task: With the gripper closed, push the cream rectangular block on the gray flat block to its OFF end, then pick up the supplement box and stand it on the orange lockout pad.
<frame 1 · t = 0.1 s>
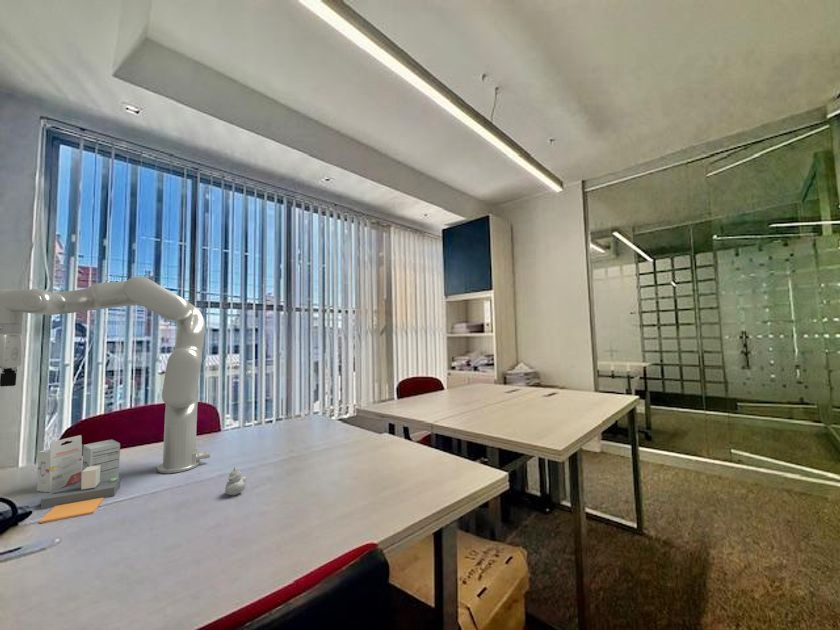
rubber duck: (236, 493, 102), on the table
supplement box: (99, 485, 108), on the table
lockout pad: (73, 510, 92), on the table
ink cartridge box: (59, 486, 107), on the table
cream rectangular block: (91, 477, 100), point 5 cm above the table, slide at 0.0 cm
gray flat block: (83, 497, 99), on the table
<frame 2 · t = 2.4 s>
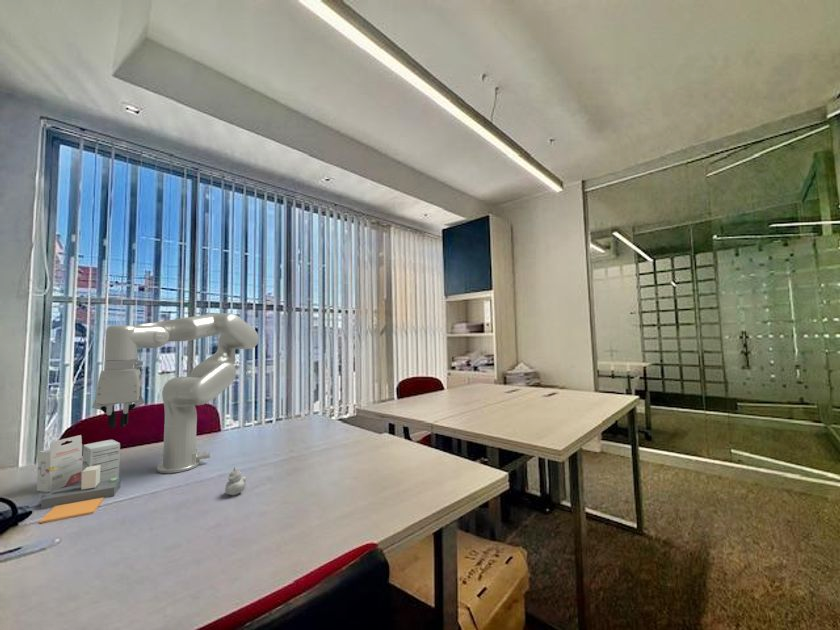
hand: (117, 426, 104), 19 cm above the table, tool pointing down, fingers closed
nothing on the table moved.
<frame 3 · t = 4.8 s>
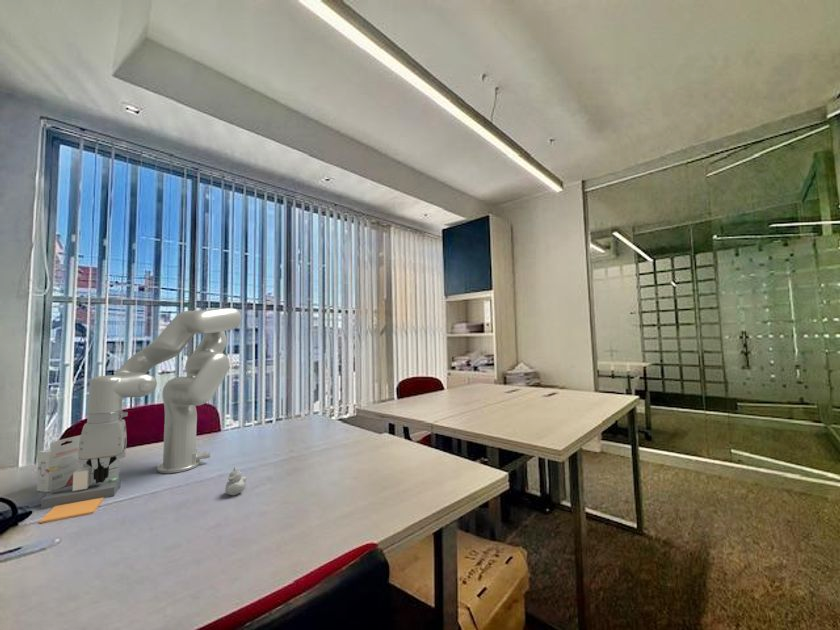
hand: (100, 481, 101), 4 cm above the table, tool pointing down, fingers closed
cream rectangular block: (82, 478, 99), point 5 cm above the table, slide at 1.8 cm, touching gripper
everything else where it was.
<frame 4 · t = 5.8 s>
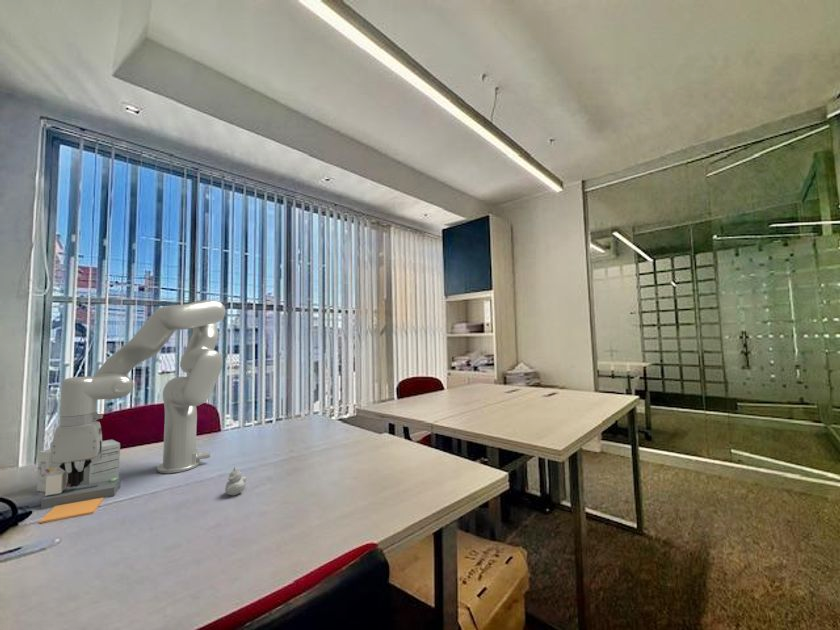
hand: (75, 484, 98), 4 cm above the table, tool pointing down, fingers closed
cream rectangular block: (56, 482, 97), point 5 cm above the table, slide at 7.3 cm, touching gripper
everything else where it was.
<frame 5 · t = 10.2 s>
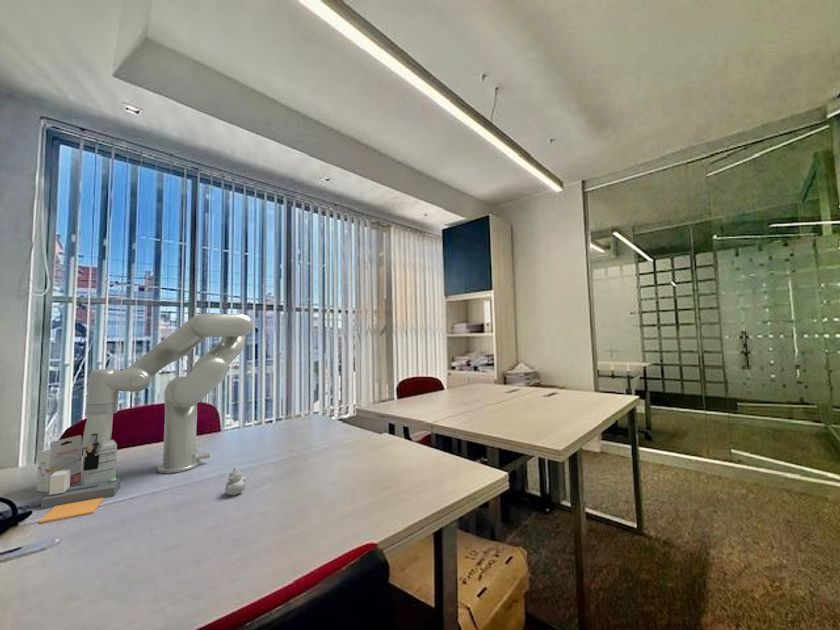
hand: (96, 464, 107), 6 cm above the table, tool pointing down, fingers open, 9 cm apart
supplement box: (98, 485, 107), on the table, touching gripper
cream rectangular block: (60, 481, 97), point 5 cm above the table, slide at 6.5 cm
everything else where it was.
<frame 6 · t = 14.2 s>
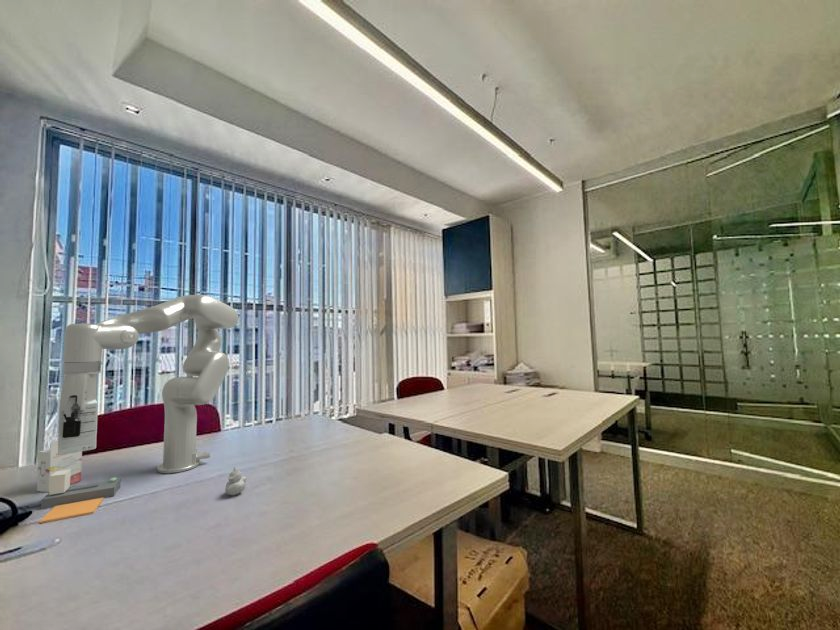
hand: (78, 432, 93), 20 cm above the table, tool pointing down, fingers closed on supplement box, 8 cm apart
supplement box: (76, 450, 93), point 16 cm above the table, touching gripper
everything else where it was.
when the fingers open (6 cm above the table, at t = 17.7 s): supplement box drops 1 cm, resting on lockout pad.
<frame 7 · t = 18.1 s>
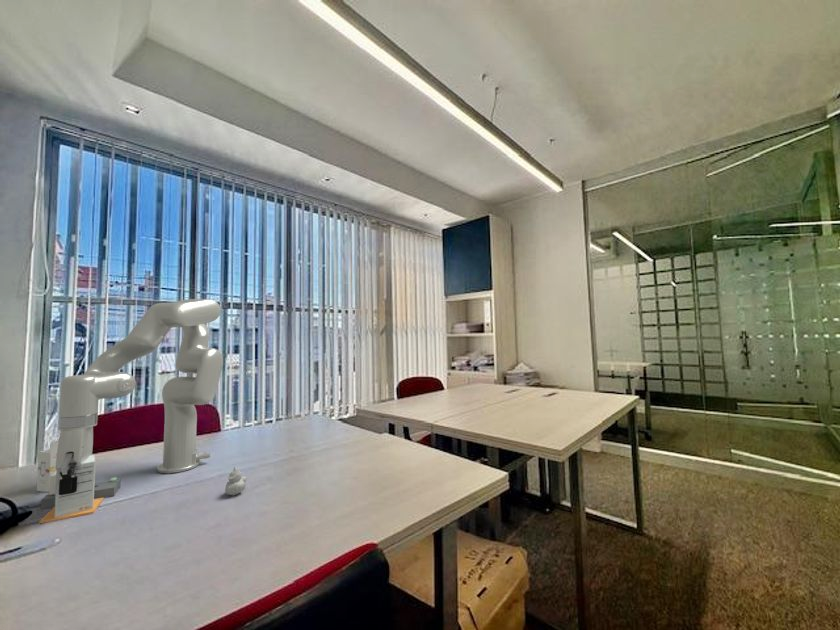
hand: (75, 486, 92), 6 cm above the table, tool pointing down, fingers open, 9 cm apart
supplement box: (74, 509, 92), resting on lockout pad
everything else where it was.
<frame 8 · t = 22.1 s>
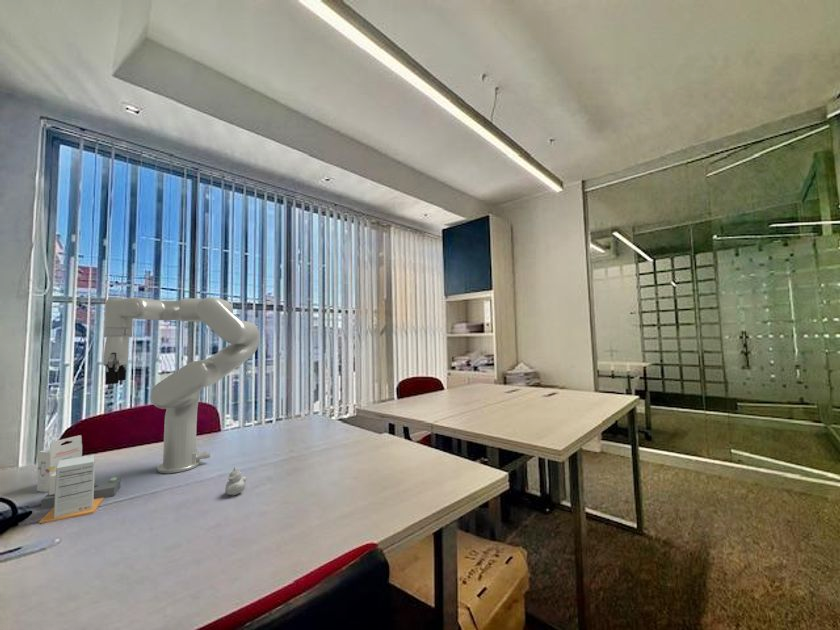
hand: (116, 382, 121), 30 cm above the table, tool pointing down, fingers open, 9 cm apart
nothing on the table moved.
at the end: cream rectangular block slide at 6.5 cm; supplement box inside the target area (0.1 cm from its centre), resting on lockout pad; supplement box tilted 0° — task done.
